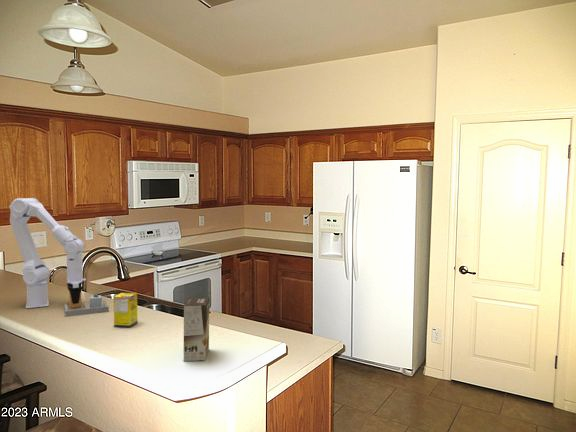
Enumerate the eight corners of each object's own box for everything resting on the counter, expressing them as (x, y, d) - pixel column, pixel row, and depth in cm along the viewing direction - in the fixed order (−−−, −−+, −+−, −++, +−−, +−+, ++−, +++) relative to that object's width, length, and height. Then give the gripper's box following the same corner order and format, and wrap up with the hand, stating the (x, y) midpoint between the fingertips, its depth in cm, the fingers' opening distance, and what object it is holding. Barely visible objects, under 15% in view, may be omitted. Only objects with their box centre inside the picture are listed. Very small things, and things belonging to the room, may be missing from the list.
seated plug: (90, 308, 169) (89, 293, 169) (100, 307, 171) (100, 292, 170) (90, 311, 165) (90, 296, 165) (101, 309, 167) (101, 295, 167)
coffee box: (206, 361, 119) (206, 305, 118) (183, 361, 118) (183, 305, 117) (209, 349, 128) (209, 297, 127) (188, 349, 127) (188, 297, 126)
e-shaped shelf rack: (64, 309, 167) (64, 304, 167) (105, 304, 174) (105, 300, 174) (65, 316, 158) (65, 311, 157) (108, 311, 165) (108, 306, 165)
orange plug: (69, 305, 173) (69, 290, 173) (80, 304, 175) (80, 289, 175) (69, 307, 170) (69, 292, 169) (80, 306, 172) (80, 291, 171)
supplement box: (137, 322, 152) (137, 292, 151) (129, 328, 146) (129, 296, 145) (122, 321, 152) (121, 292, 152) (113, 327, 147) (113, 296, 146)
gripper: (86, 271, 167) (87, 304, 168) (84, 265, 180) (84, 296, 181) (66, 272, 164) (67, 306, 165) (65, 266, 176) (66, 298, 177)
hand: (75, 301), depth 172 cm, fingers open, 5 cm apart
